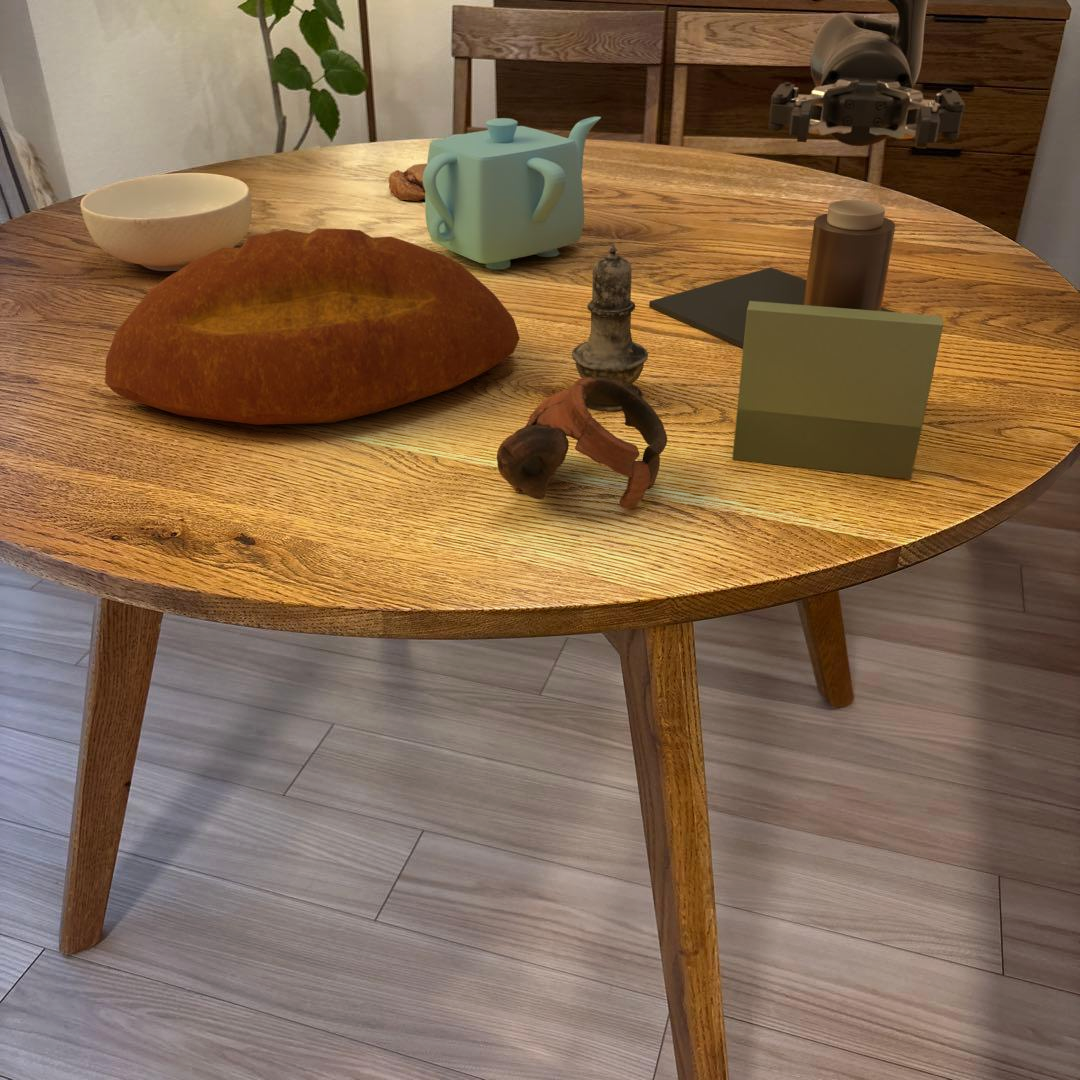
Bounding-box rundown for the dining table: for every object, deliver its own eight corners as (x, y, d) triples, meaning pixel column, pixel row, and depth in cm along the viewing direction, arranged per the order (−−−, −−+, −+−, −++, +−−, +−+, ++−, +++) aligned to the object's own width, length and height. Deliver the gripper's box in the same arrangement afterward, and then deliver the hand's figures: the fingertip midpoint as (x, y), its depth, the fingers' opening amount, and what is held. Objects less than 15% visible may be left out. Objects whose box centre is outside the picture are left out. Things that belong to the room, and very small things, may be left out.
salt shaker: (558, 389, 83) (557, 239, 76) (621, 374, 85) (626, 228, 78) (594, 418, 78) (597, 262, 72) (660, 402, 81) (669, 249, 74)
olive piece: (748, 388, 82) (763, 251, 76) (906, 404, 80) (934, 263, 74) (732, 459, 73) (747, 309, 67) (911, 479, 70) (943, 325, 64)
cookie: (468, 202, 128) (467, 177, 127) (383, 203, 129) (380, 178, 127) (474, 182, 137) (473, 158, 135) (394, 182, 137) (392, 158, 135)
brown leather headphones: (559, 442, 76) (618, 358, 71) (638, 537, 73) (706, 456, 68) (440, 464, 67) (498, 369, 63) (525, 573, 64) (593, 482, 59)
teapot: (560, 283, 104) (561, 142, 96) (406, 271, 107) (395, 134, 100) (599, 230, 118) (602, 104, 111) (462, 221, 122) (456, 98, 115)
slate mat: (770, 272, 105) (770, 267, 105) (898, 319, 94) (899, 313, 94) (648, 307, 98) (649, 301, 97) (772, 362, 87) (773, 355, 86)
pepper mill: (828, 355, 78) (852, 192, 71) (884, 379, 74) (915, 209, 68) (779, 372, 75) (799, 205, 69) (834, 397, 72) (861, 223, 65)
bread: (543, 420, 78) (541, 258, 72) (89, 462, 74) (41, 293, 67) (502, 319, 96) (498, 181, 89) (133, 348, 91) (98, 204, 84)
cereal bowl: (61, 278, 107) (42, 209, 103) (157, 231, 120) (143, 168, 116) (205, 293, 103) (191, 221, 99) (288, 242, 116) (278, 177, 112)
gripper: (785, 38, 88) (770, 71, 75) (962, 43, 85) (978, 79, 72) (775, 131, 93) (758, 177, 79) (943, 139, 89) (955, 189, 76)
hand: (863, 130), depth 76 cm, fingers open, 8 cm apart
